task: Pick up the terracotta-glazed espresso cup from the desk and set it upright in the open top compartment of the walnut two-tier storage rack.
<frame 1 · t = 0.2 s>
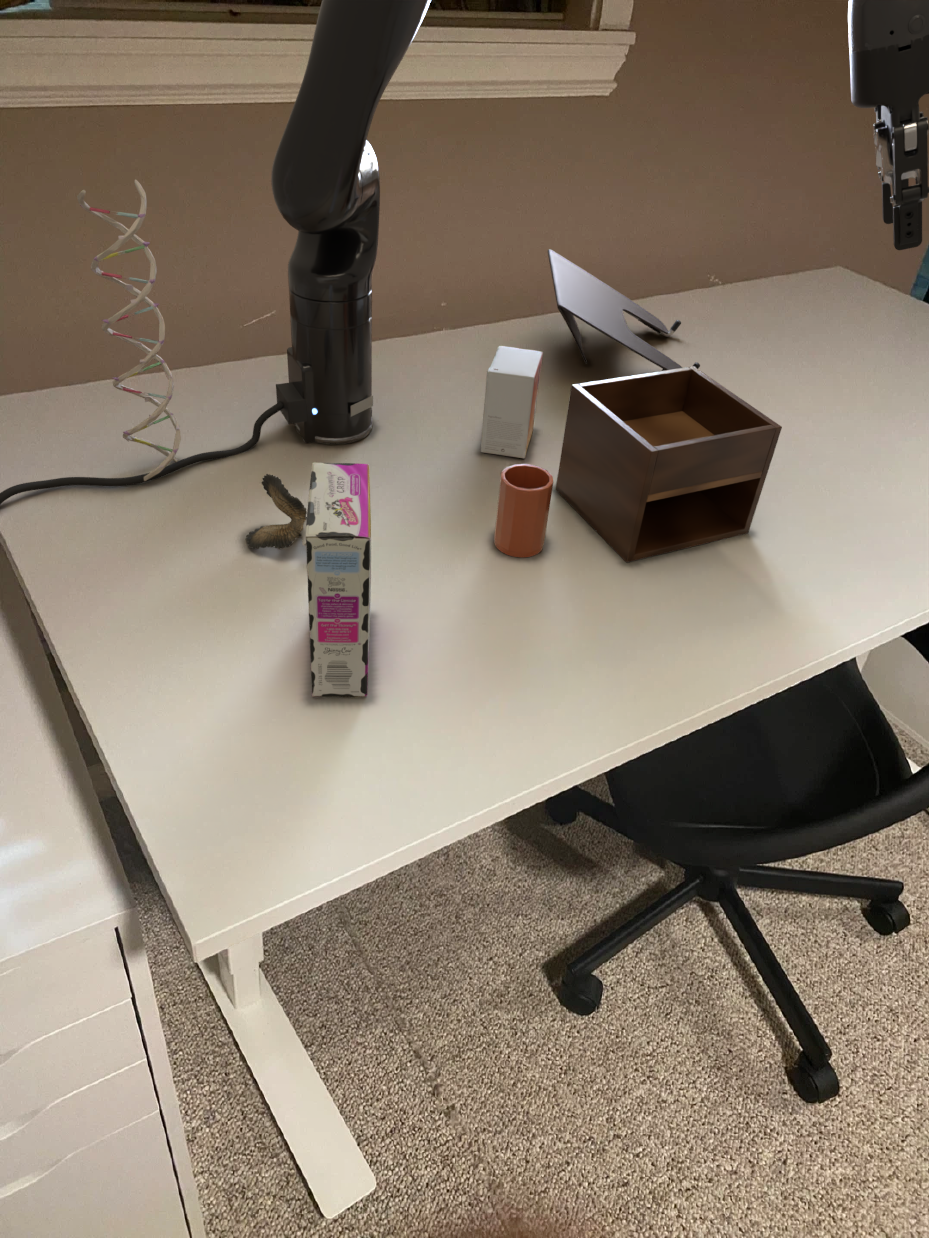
hand: (901, 234, 84), 31 cm above the table, tool tilted 20°, fingers open, 8 cm apart
dna model: (158, 474, 102), on the table
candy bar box: (342, 656, 81), on the table
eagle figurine: (292, 544, 93), on the table
laptop tray: (615, 354, 136), on the table
cup: (518, 543, 96), on the table
small box: (507, 442, 113), on the table
storage rack: (649, 511, 102), on the table
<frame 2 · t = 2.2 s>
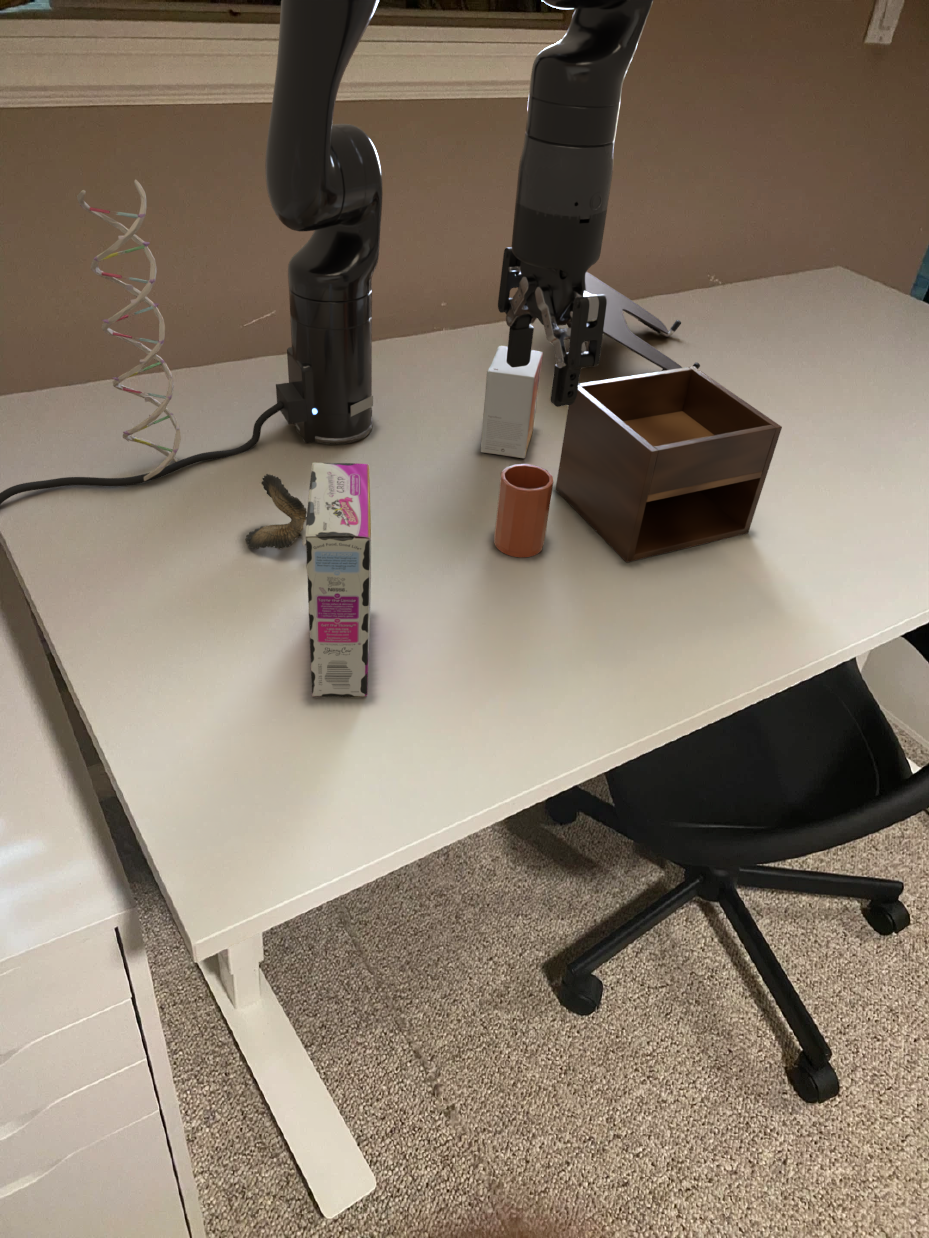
hand: (539, 384, 84), 18 cm above the table, tool pointing down, fingers open, 8 cm apart
nothing on the table moved.
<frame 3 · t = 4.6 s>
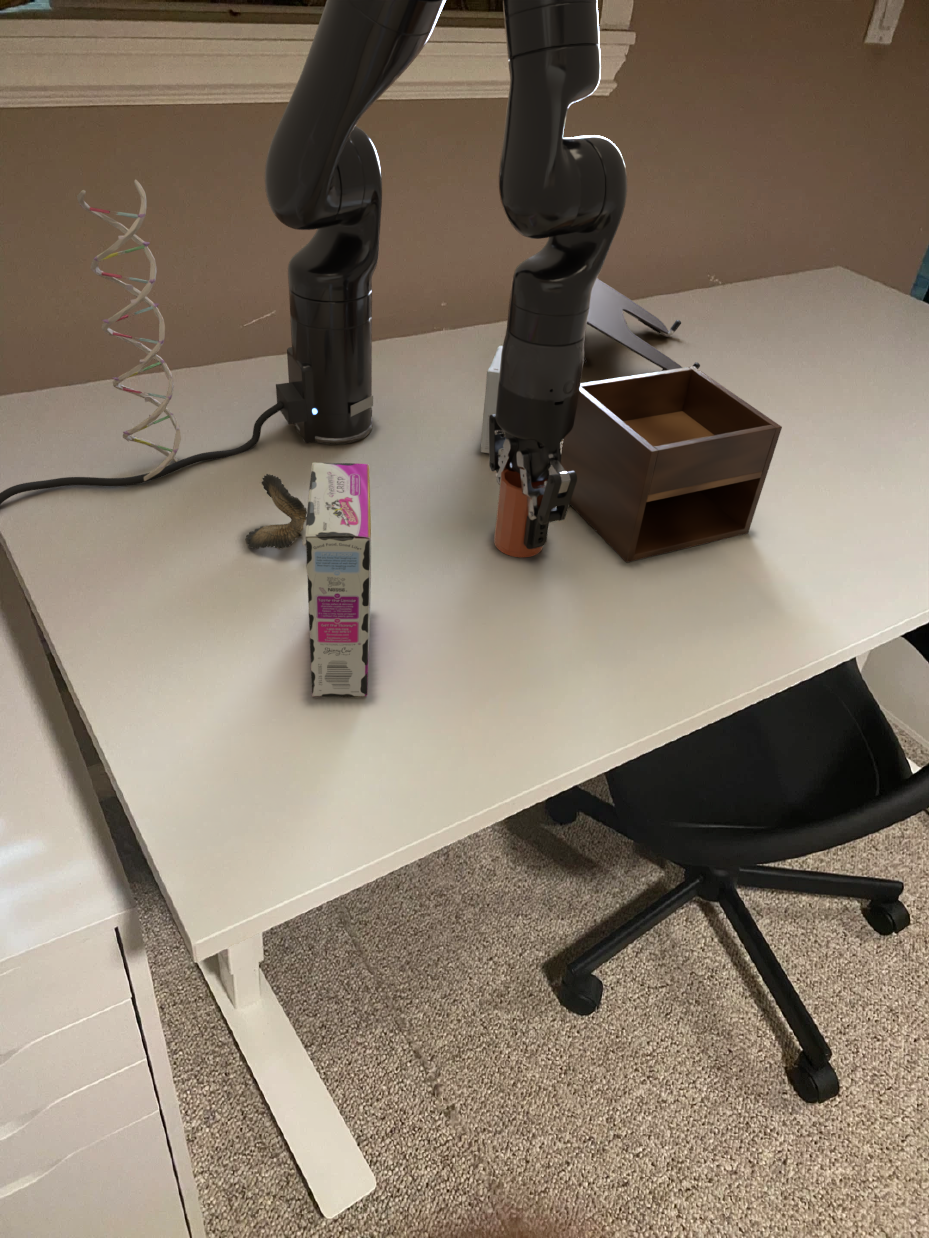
hand: (520, 530, 95), 2 cm above the table, tool pointing down, fingers closed on cup, 5 cm apart
cup: (518, 543, 96), on the table, touching gripper
everything else where it was.
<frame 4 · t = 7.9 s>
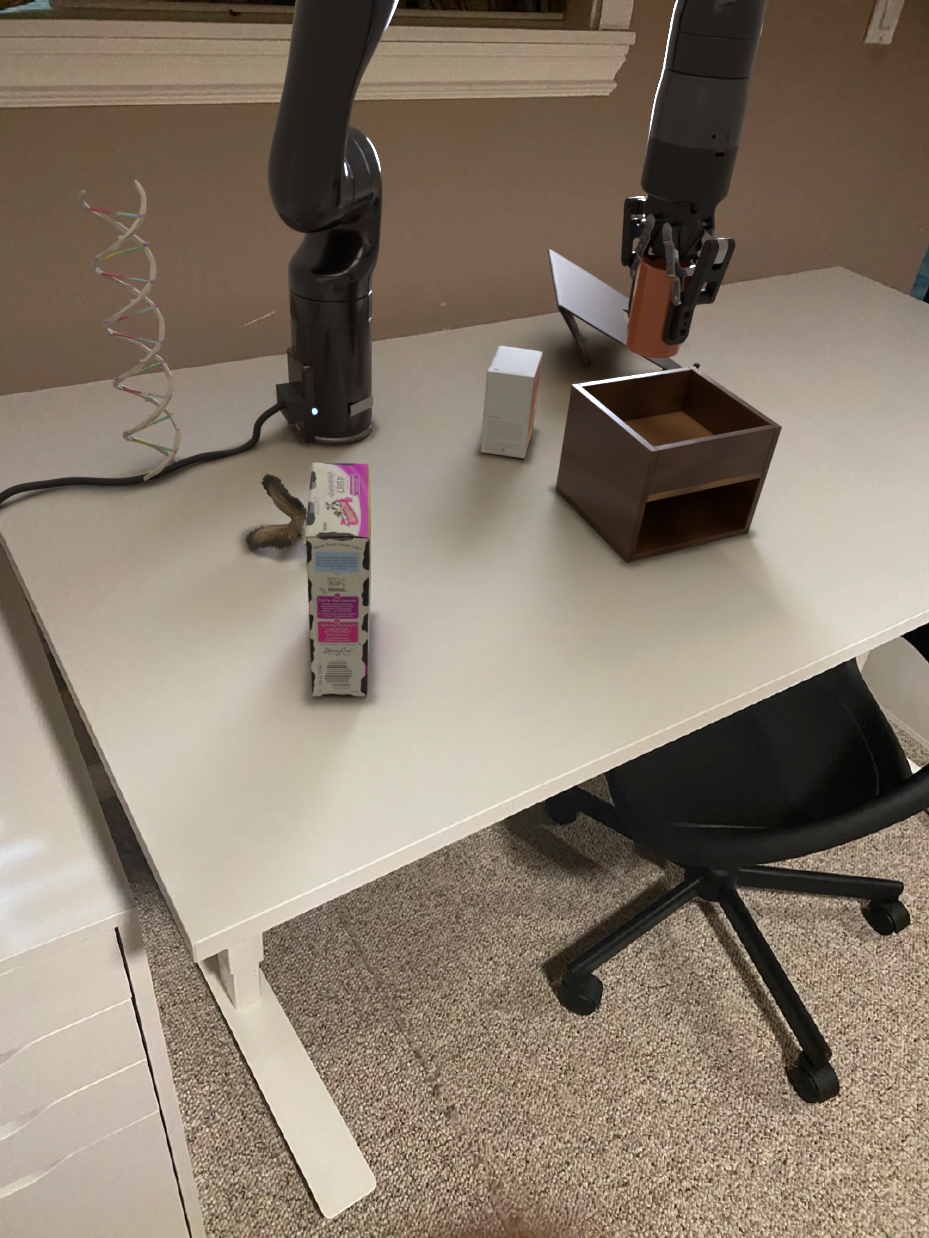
hand: (655, 330, 87), 22 cm above the table, tool pointing down, fingers closed on cup, 5 cm apart
cup: (651, 347, 88), point 20 cm above the table, touching gripper
everything else where it was.
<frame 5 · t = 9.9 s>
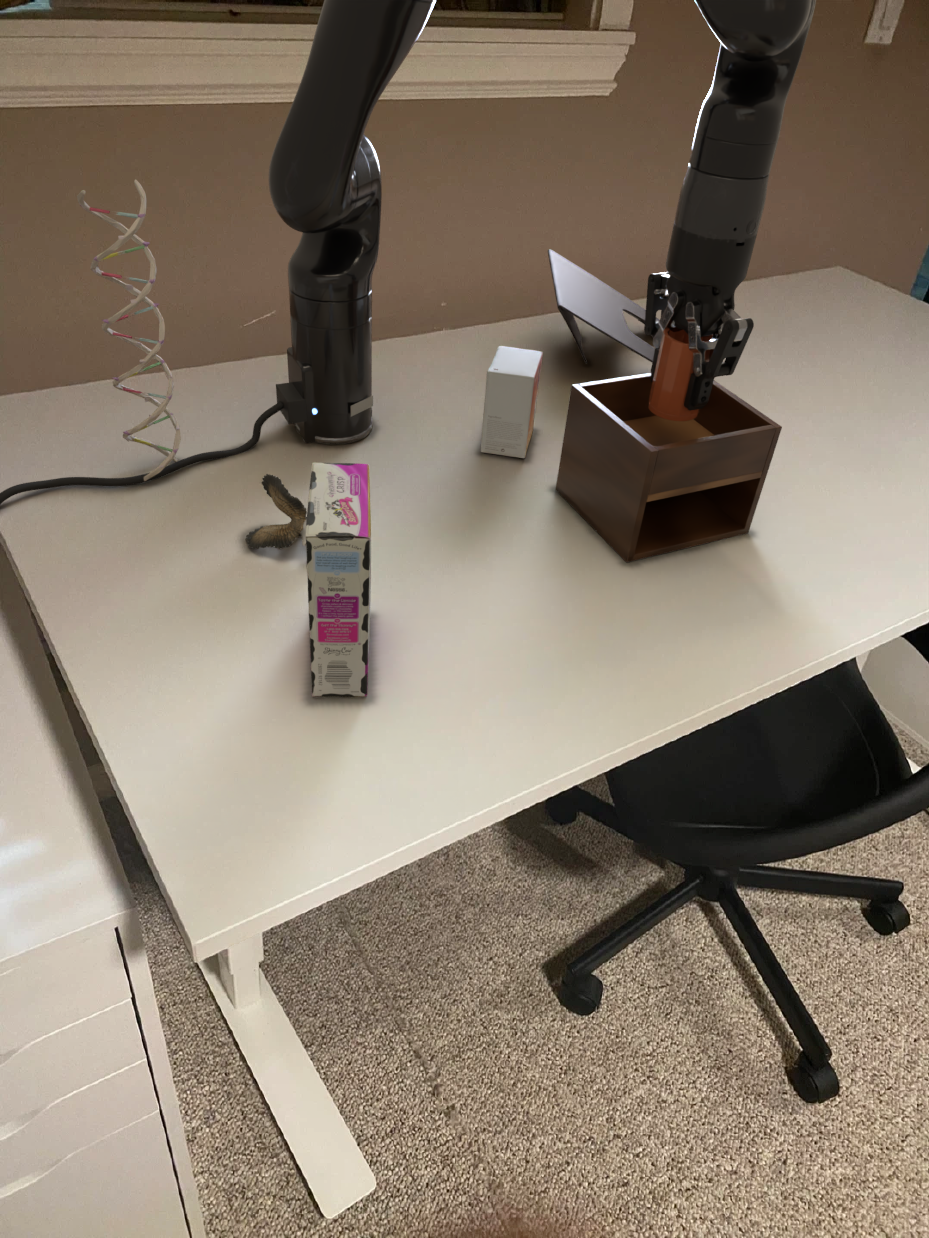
hand: (676, 394, 93), 14 cm above the table, tool pointing down, fingers closed on cup, 5 cm apart
cup: (673, 409, 94), point 12 cm above the table, touching gripper
everything else where it was.
when the fingers open (10 cm above the table, at t = 11.5 s): cup stays where it is, resting on storage rack.
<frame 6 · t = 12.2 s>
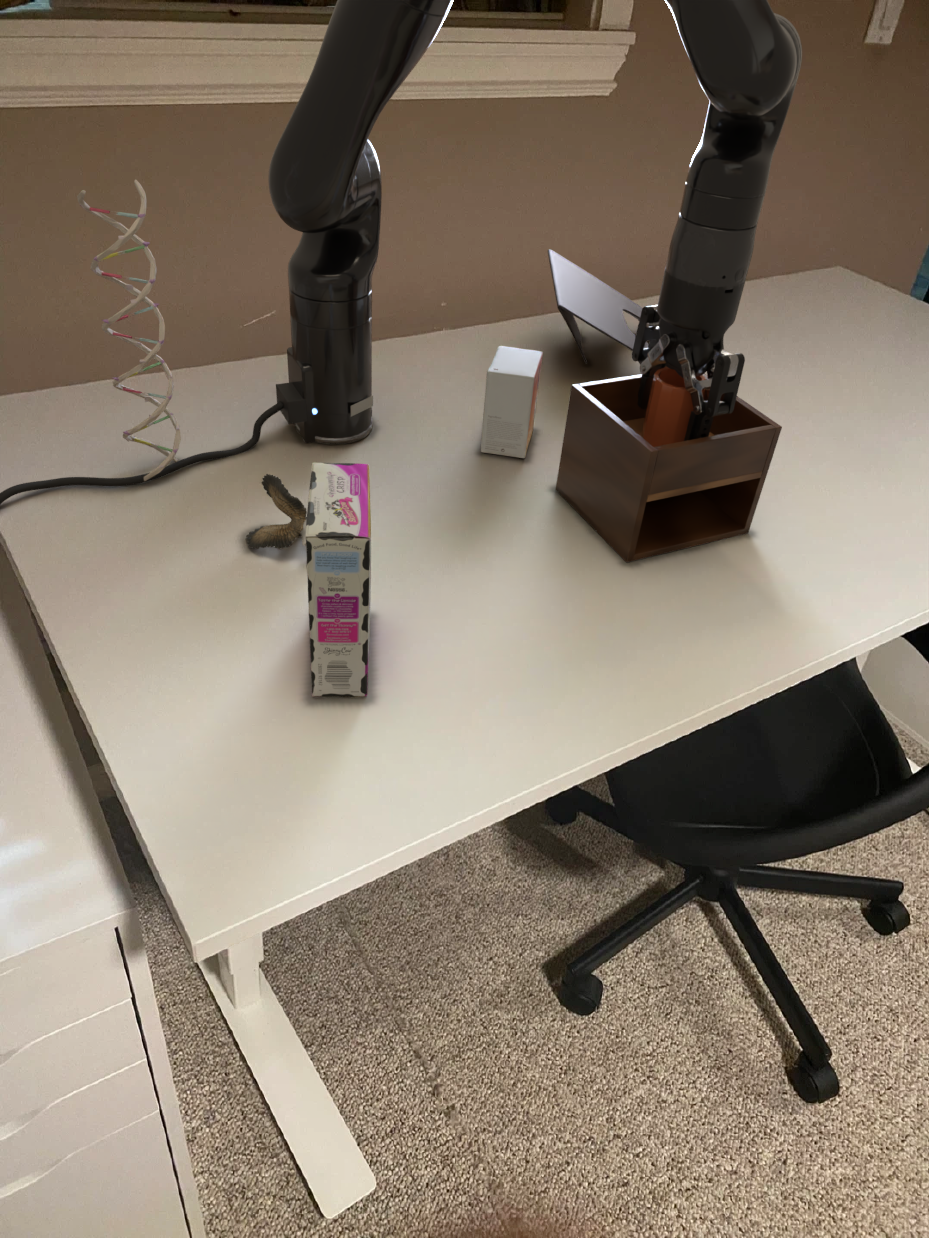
hand: (669, 425, 96), 11 cm above the table, tool pointing down, fingers open, 8 cm apart
cup: (664, 448, 97), point 8 cm above the table, touching storage rack
everything else where it was.
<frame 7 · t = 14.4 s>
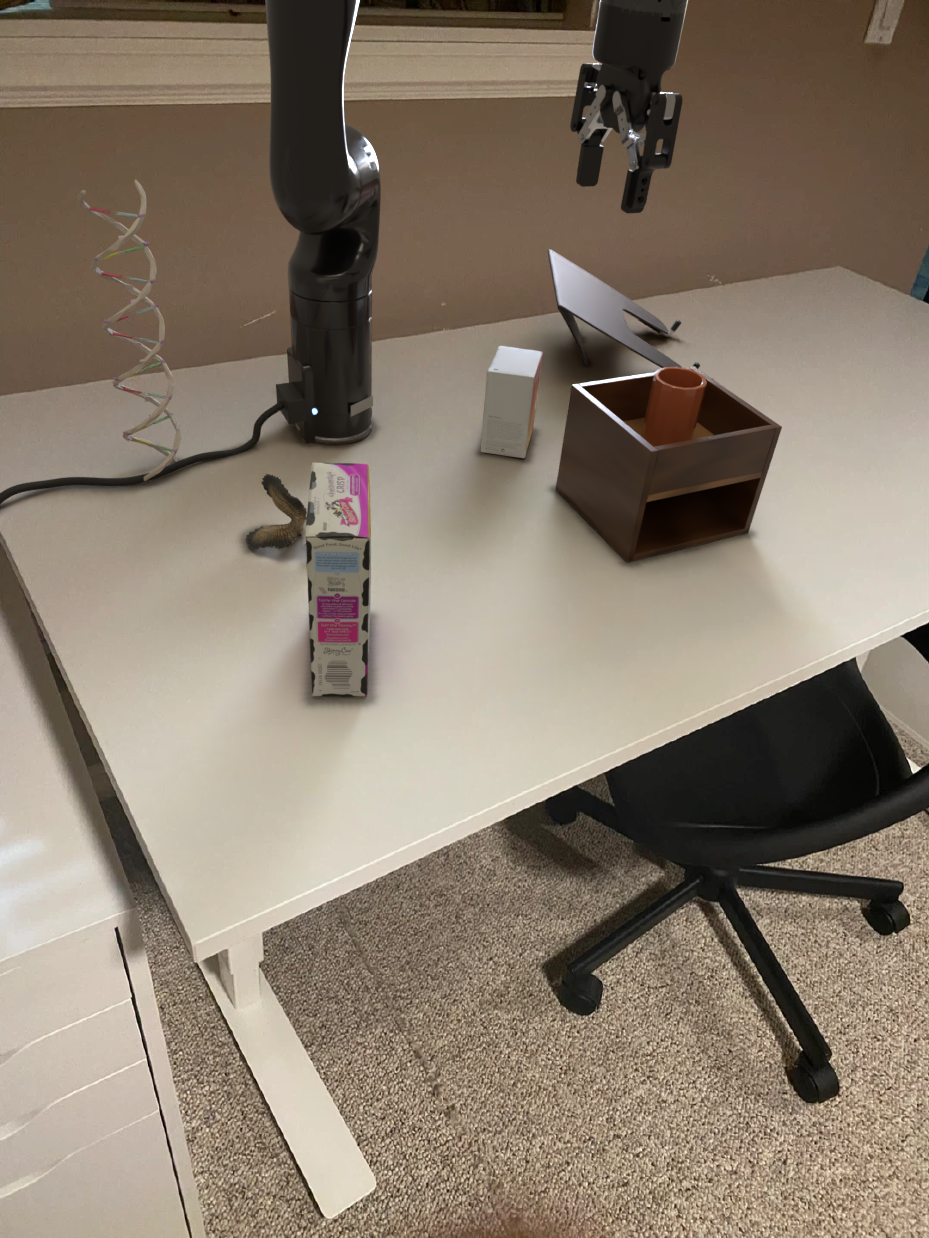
hand: (608, 198, 90), 30 cm above the table, tool pointing down, fingers open, 8 cm apart
nothing on the table moved.
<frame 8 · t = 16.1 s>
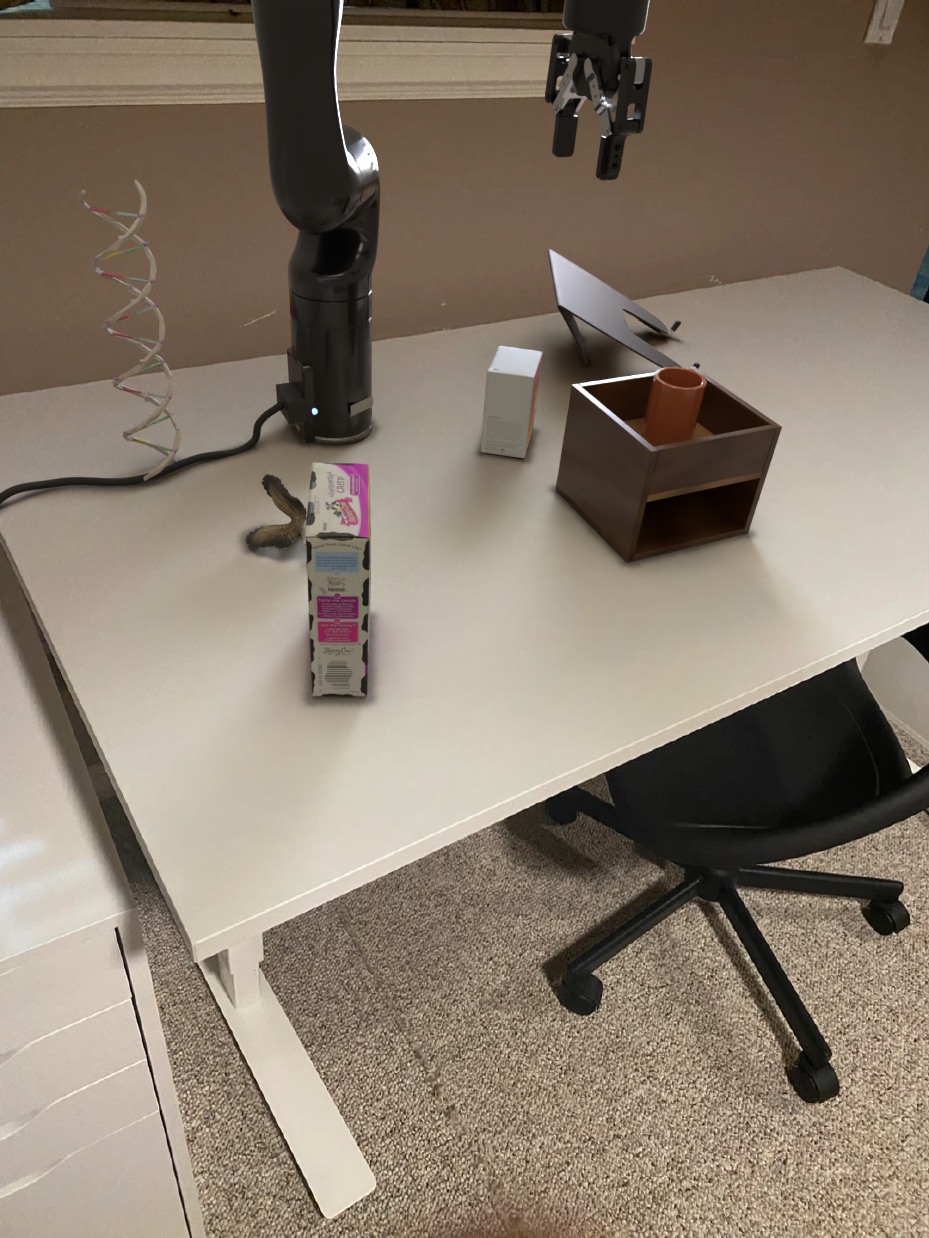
hand: (583, 167, 91), 32 cm above the table, tool pointing down, fingers open, 8 cm apart
nothing on the table moved.
at the end: cup inside the target area on the storage rack (0.0 cm from its centre), point 8.0 cm above the storage rack's base; cup tilted 0°; the gripper is holding nothing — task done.
